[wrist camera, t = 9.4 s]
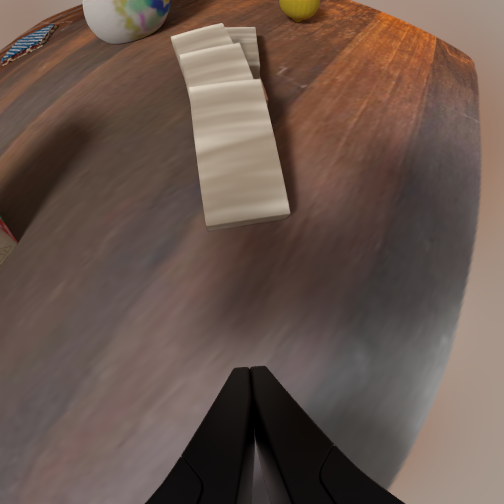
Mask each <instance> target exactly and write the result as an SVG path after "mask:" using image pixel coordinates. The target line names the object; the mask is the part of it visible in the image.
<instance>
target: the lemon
mask: <svg viewBox="0 0 504 504" xmlns="http://www.w3.org/2000/svg"><path fill="white" fill-rule="evenodd" d="M279 3H280V7H281V9H282V11H283V12H284V13H285V14H286V15H287V16H288V17H290V18H292V19H293V20H294V21H295V22H300V21H302V20H304V19H308V18H310V17H312V16H313V15H314V14H315V13H316V12H317V10H318V8H319V5H320V0H279Z"/></svg>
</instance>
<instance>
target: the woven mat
mask: <svg viewBox="0 0 504 504" xmlns="http://www.w3.org/2000/svg"><path fill="white" fill-rule="evenodd" d="M56 28H57V26H55V25H54V24H52V25H51V24H50V25H49V26H48V27H44V28H42V29H41V30H39V31H38V30H37V31H36V32H35V33H31V34H30V35H29V36H25V37H24V38H23V39H19V40H18V41H17V42H16V43H15V45H13V46H12V48H11V49H10V51H8V52H7V54H6V55H5V56H4V58H2V62H3V61H4V62H3V63H2V65H3V66H4V65H6V64H7V63H9V62H11V61H13V60H15V59H17V58H19V57H21V56H23V55H25V54H27V53H29V52H31V51H33V50H35V49H37V48H40V47H42V46H43V45H42V44H44V42H46V41H47V39H48V37H49V36H50V35H51V33H53V31H55V30H54V29H56ZM49 34H50V35H49ZM40 45H41V46H40ZM38 46H39V47H38ZM4 63H5V64H4Z"/></svg>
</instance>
